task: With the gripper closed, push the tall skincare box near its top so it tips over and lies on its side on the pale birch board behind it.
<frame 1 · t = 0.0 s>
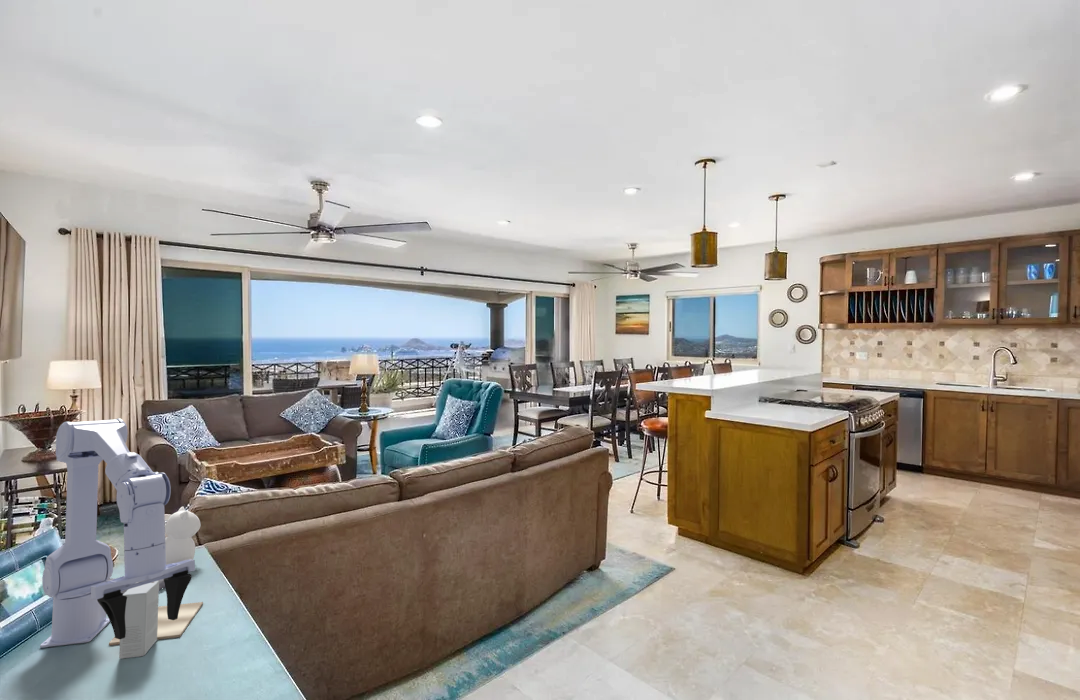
hand: (147, 628, 88), 11 cm above the table, tool pointing down, fingers open, 7 cm apart
skincare box: (138, 650, 100), on the table
stone block: (137, 592, 126), on the table
cat figurine: (171, 565, 142), on the table
birch board: (159, 623, 110), on the table
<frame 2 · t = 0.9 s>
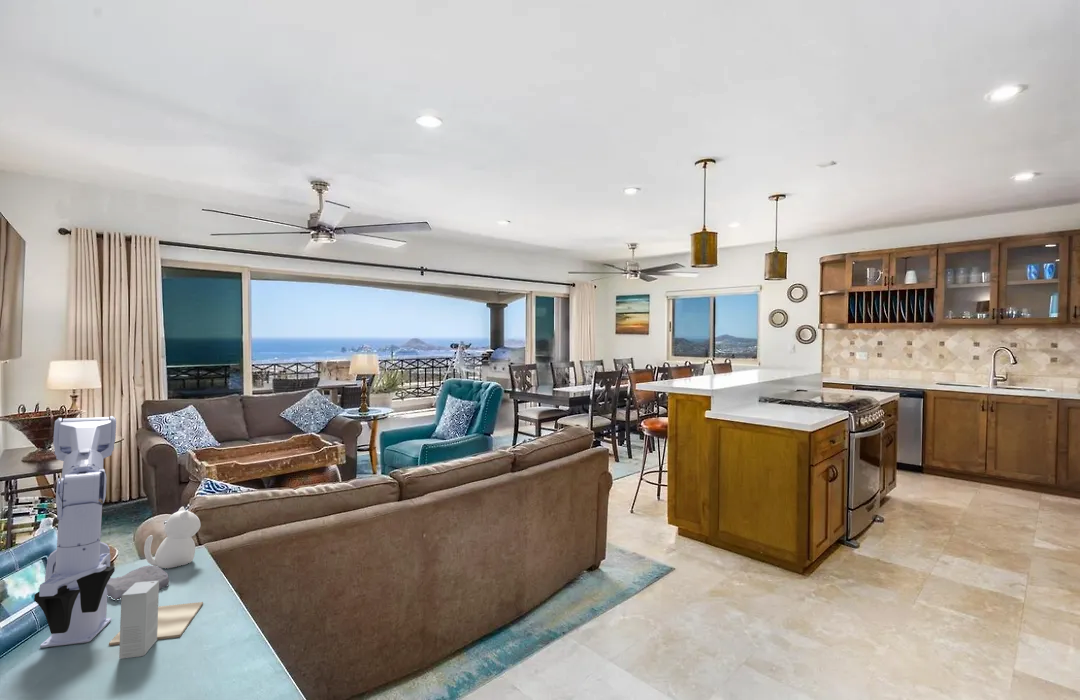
hand: (75, 621, 90), 11 cm above the table, tool pointing down, fingers open, 7 cm apart
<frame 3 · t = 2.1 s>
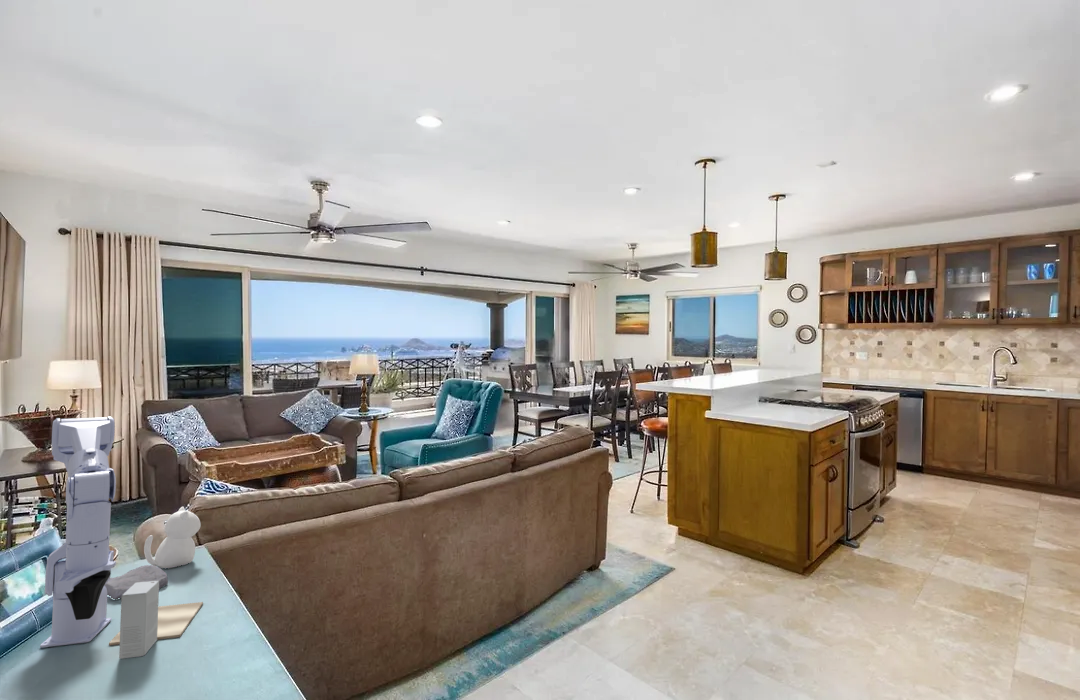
hand: (84, 617, 91), 10 cm above the table, tool pointing down, fingers closed
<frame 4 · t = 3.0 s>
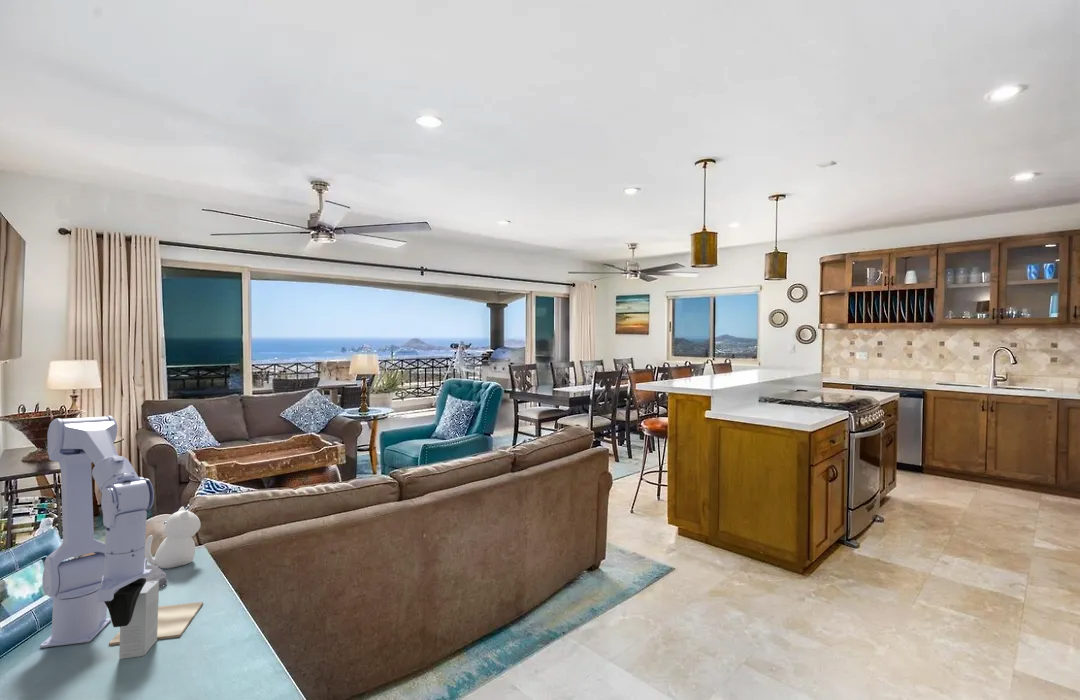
hand: (121, 624, 93), 8 cm above the table, tool pointing down, fingers closed
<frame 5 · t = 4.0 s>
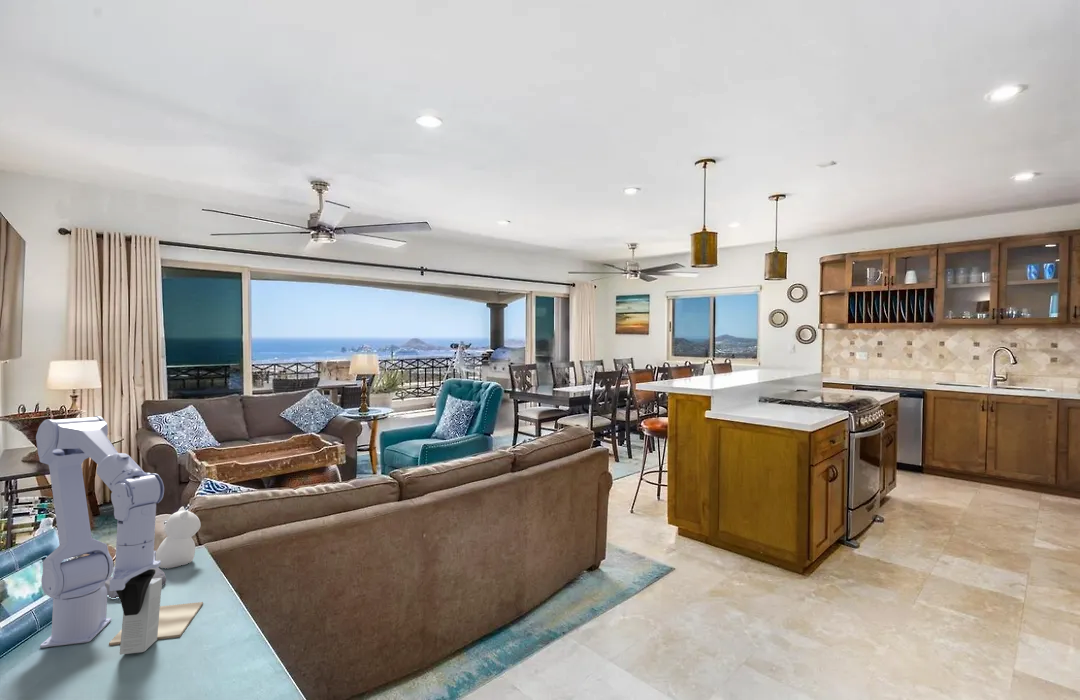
hand: (132, 613, 97), 8 cm above the table, tool pointing down, fingers closed
skincare box: (138, 648, 100), on the table, touching gripper
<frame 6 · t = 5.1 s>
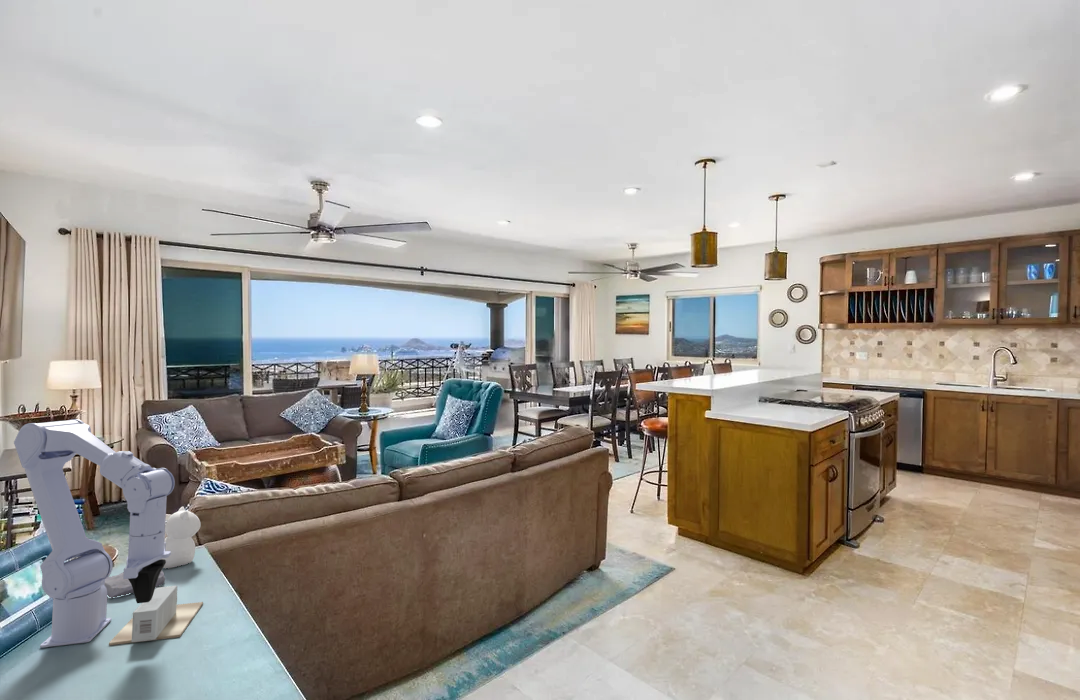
hand: (144, 601, 102), 8 cm above the table, tool pointing down, fingers closed
skincare box: (143, 626, 102), point 4 cm above the table, touching birch board
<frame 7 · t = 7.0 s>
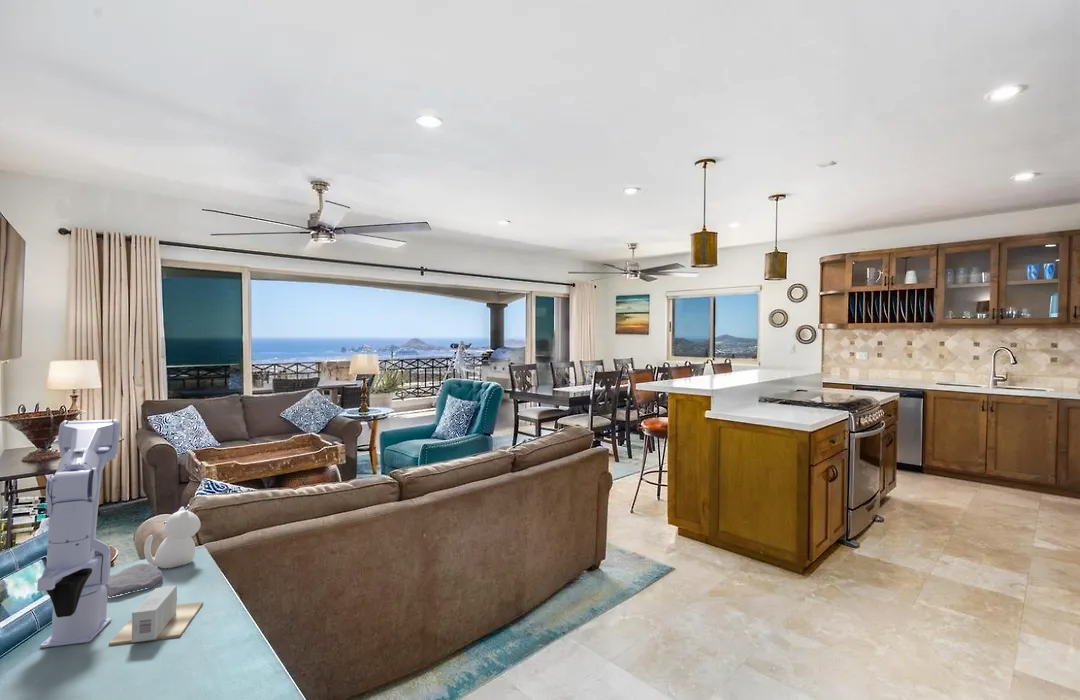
hand: (65, 615, 92), 10 cm above the table, tool pointing down, fingers closed
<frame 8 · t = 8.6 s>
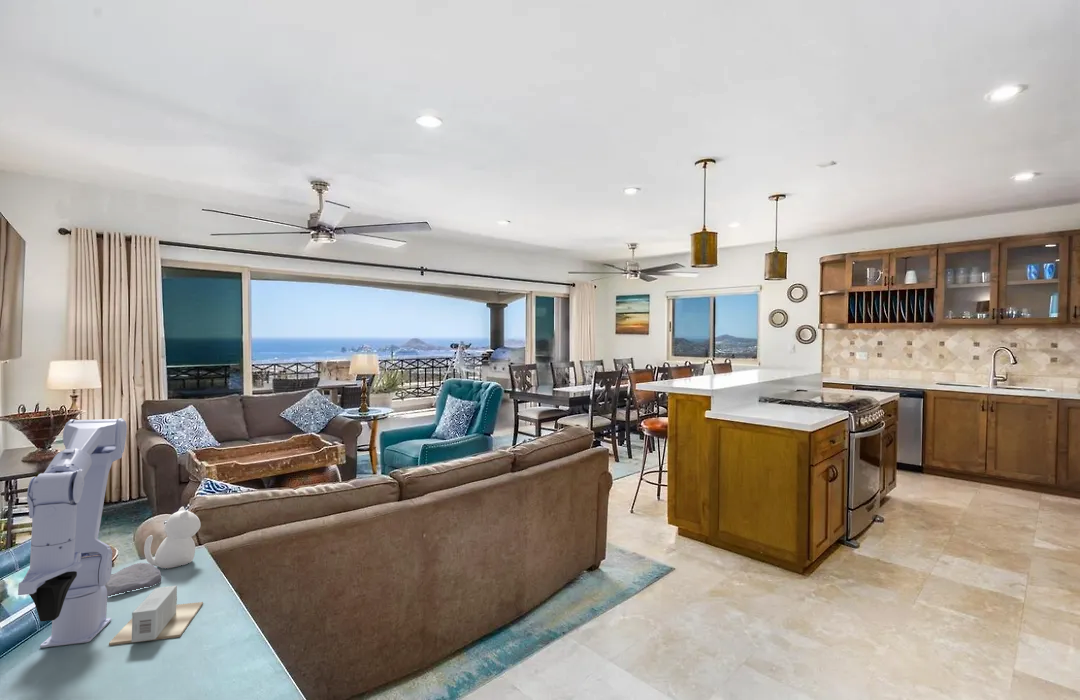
hand: (49, 619, 91), 10 cm above the table, tool pointing down, fingers closed
at the end: skincare box tilted 91°; skincare box inside the target area (0.9 cm from its centre), point 3.6 cm above the table; skincare box touching birch board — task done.
